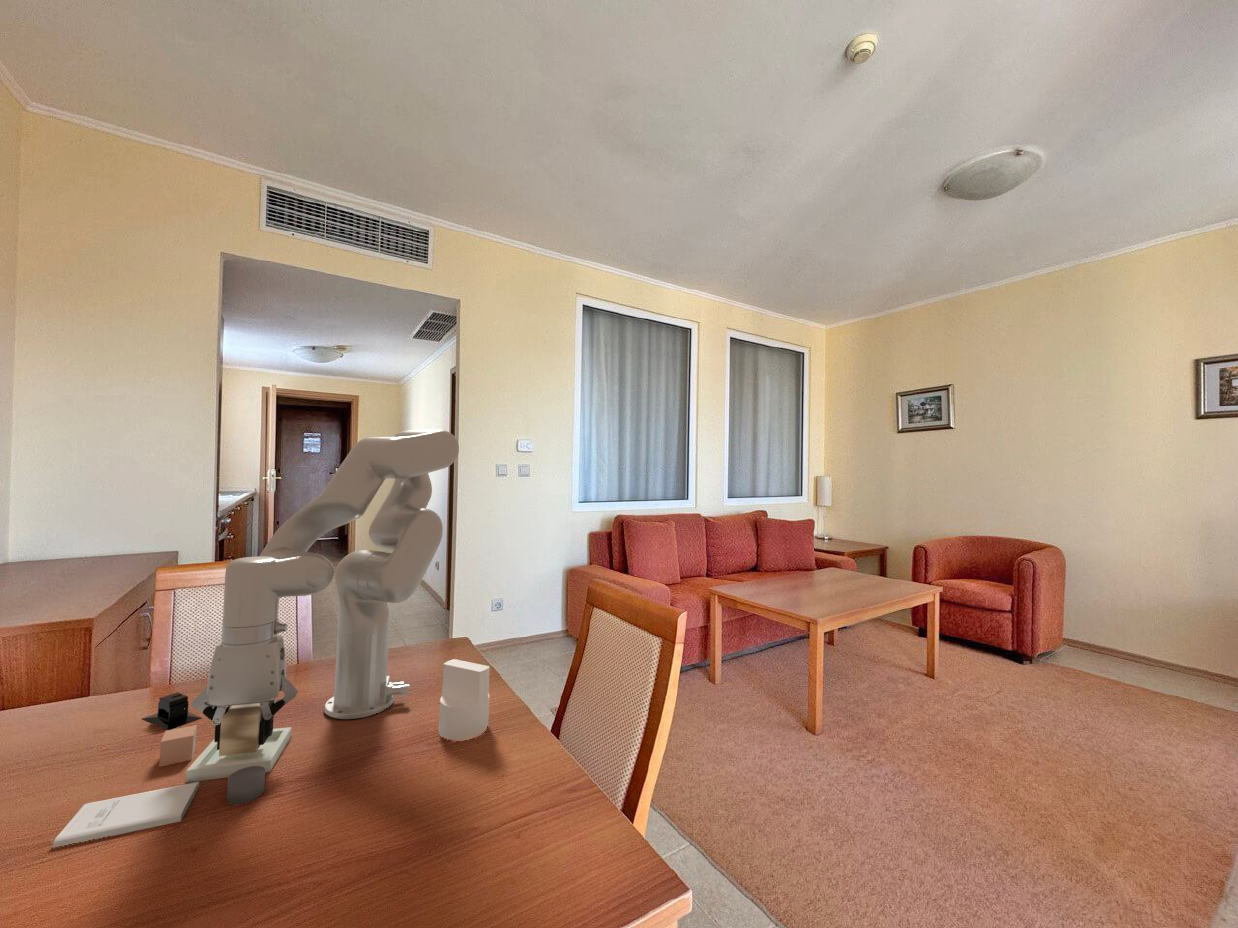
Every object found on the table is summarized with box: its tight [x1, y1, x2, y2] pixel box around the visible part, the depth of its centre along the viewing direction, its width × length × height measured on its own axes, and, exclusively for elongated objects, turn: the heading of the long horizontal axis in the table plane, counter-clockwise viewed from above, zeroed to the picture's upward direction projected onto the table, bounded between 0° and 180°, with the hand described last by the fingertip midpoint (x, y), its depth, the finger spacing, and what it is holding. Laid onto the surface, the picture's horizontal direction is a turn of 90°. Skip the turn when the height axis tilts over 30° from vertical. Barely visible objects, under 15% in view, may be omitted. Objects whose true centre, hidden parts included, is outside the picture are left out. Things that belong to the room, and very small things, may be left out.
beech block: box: [219, 703, 263, 756], centre depth 83 cm, size 5×5×6 cm
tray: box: [185, 726, 293, 784], centre depth 83 cm, size 11×11×2 cm
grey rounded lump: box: [226, 766, 266, 805], centre depth 74 cm, size 4×4×3 cm
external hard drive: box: [52, 781, 200, 849], centre depth 69 cm, size 2×8×12 cm
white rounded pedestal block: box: [438, 658, 491, 740], centre depth 95 cm, size 9×9×12 cm
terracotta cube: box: [158, 724, 198, 768], centre depth 83 cm, size 4×4×4 cm
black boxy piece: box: [141, 692, 203, 731], centre depth 95 cm, size 12×7×5 cm, turn 65°
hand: (243, 741), depth 83 cm, fingers closed on beech block, 5 cm apart
